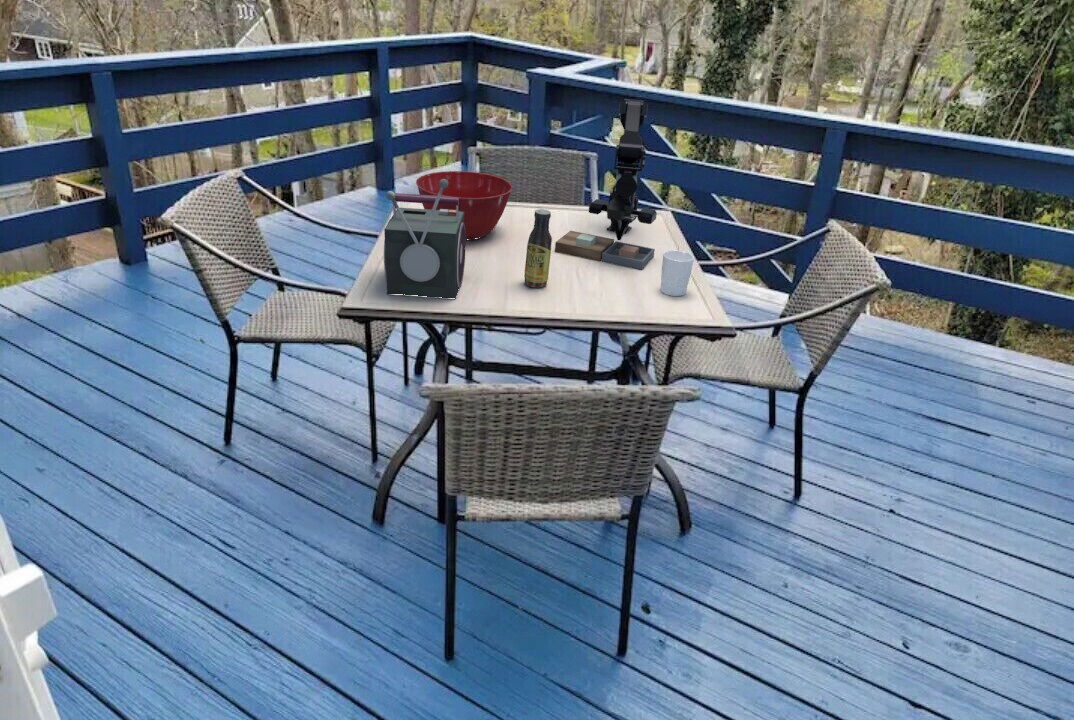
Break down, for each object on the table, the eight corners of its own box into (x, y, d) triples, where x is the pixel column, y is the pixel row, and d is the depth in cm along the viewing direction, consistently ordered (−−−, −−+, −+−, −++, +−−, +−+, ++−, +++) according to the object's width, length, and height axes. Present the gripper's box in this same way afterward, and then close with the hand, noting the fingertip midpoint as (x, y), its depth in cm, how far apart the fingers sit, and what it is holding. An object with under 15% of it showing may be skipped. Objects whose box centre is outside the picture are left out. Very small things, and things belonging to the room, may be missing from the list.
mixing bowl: (496, 216, 245) (497, 168, 237) (521, 246, 221) (524, 195, 214) (409, 220, 236) (408, 171, 229) (426, 252, 213) (426, 199, 205)
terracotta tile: (639, 247, 219) (638, 254, 220) (624, 244, 220) (623, 251, 221) (634, 252, 215) (633, 258, 216) (619, 249, 217) (618, 255, 218)
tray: (614, 249, 224) (615, 241, 223) (653, 257, 220) (654, 248, 219) (601, 261, 214) (602, 253, 213) (642, 270, 211) (643, 261, 209)
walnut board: (569, 239, 229) (570, 230, 227) (613, 248, 224) (614, 239, 223) (554, 251, 219) (555, 242, 218) (600, 261, 215) (601, 251, 213)
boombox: (465, 271, 202) (467, 159, 188) (456, 303, 184) (457, 182, 169) (398, 267, 202) (395, 155, 188) (382, 298, 184) (377, 177, 169)
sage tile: (581, 240, 220) (581, 233, 220) (595, 243, 219) (596, 236, 218) (575, 244, 217) (576, 238, 216) (590, 247, 215) (590, 240, 214)
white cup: (670, 283, 204) (675, 248, 199) (694, 292, 199) (700, 256, 194) (652, 290, 199) (657, 254, 194) (676, 299, 194) (682, 263, 189)
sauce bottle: (519, 285, 196) (523, 211, 186) (531, 277, 201) (535, 205, 191) (541, 291, 193) (546, 216, 184) (552, 283, 198) (558, 210, 189)
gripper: (584, 188, 207) (579, 241, 215) (649, 199, 201) (642, 254, 209) (597, 179, 217) (592, 231, 224) (660, 190, 211) (652, 242, 218)
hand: (619, 239), depth 219 cm, fingers closed
